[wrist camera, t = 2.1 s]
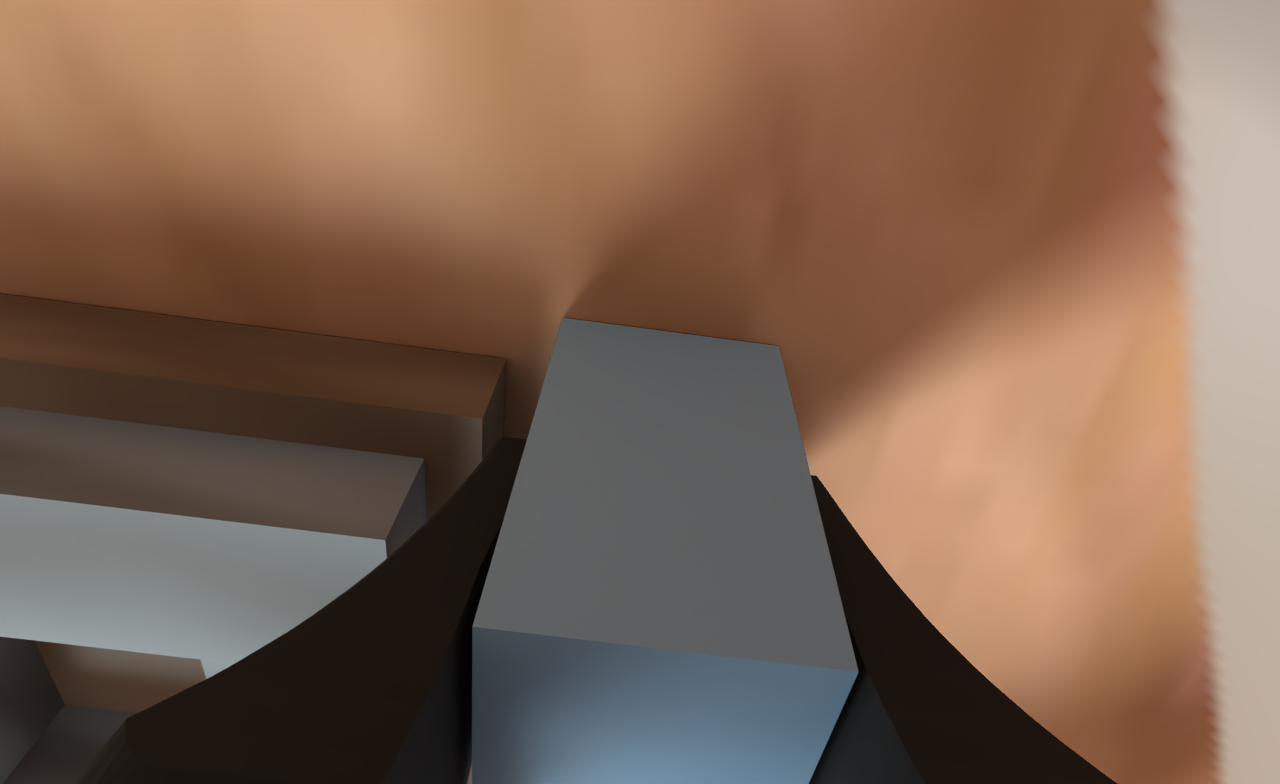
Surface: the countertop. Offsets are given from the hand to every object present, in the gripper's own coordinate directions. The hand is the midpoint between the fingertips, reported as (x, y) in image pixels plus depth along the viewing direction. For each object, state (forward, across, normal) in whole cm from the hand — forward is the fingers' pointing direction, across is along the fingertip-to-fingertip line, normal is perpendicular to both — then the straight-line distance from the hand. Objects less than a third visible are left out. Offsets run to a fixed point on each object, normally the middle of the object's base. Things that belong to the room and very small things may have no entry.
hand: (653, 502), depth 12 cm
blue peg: (+2, 0, 0) cm, 2 cm away
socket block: (+2, +10, +6) cm, 12 cm away
